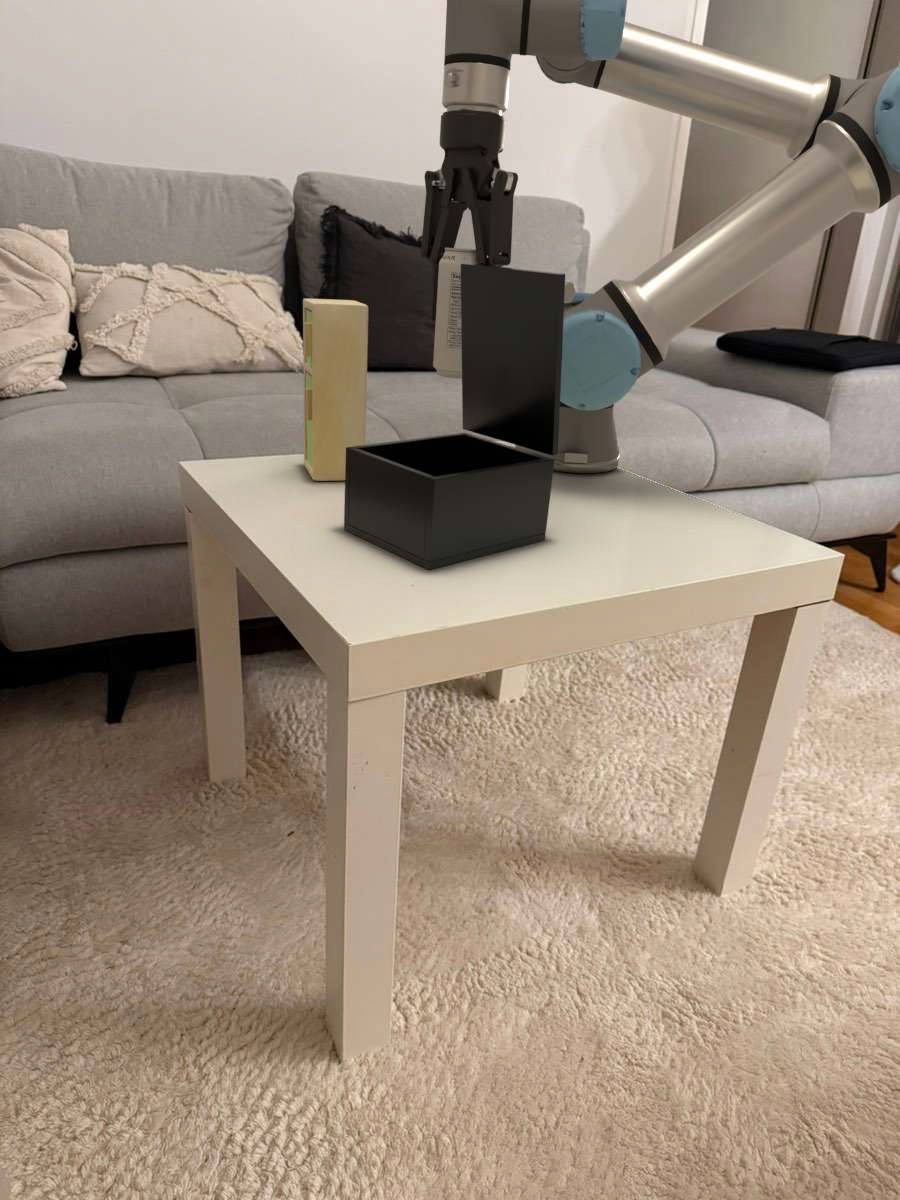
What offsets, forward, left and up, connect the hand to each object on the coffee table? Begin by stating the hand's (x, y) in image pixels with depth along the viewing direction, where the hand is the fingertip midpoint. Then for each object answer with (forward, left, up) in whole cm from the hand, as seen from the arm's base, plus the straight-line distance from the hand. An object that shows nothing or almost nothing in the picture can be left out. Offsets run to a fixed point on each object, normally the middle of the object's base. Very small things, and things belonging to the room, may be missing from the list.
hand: (459, 323), depth 106 cm
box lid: (+11, +19, -1) cm, 22 cm away
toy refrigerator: (+14, -7, -19) cm, 25 cm away
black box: (+18, +19, -19) cm, 32 cm away
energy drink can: (0, 0, -7) cm, 7 cm away
